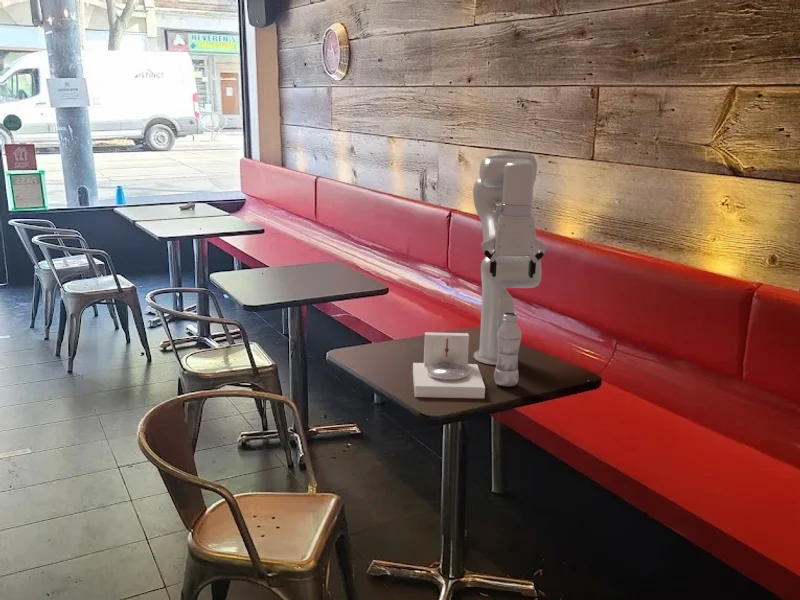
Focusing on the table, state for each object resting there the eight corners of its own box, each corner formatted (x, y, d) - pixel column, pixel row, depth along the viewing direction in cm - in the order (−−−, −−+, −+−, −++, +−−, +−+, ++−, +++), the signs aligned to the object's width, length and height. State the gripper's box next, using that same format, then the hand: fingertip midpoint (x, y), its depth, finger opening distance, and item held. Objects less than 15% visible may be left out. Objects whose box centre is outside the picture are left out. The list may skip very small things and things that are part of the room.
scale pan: (426, 365, 206) (426, 362, 206) (466, 366, 207) (466, 363, 206) (428, 379, 196) (428, 376, 195) (470, 380, 196) (470, 377, 196)
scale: (412, 372, 211) (414, 332, 208) (476, 374, 211) (478, 333, 208) (414, 396, 193) (416, 352, 190) (484, 398, 193) (487, 354, 190)
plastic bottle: (501, 379, 208) (505, 309, 203) (522, 385, 204) (527, 314, 199) (488, 385, 203) (493, 314, 198) (510, 391, 199) (515, 318, 194)
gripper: (484, 212, 188) (480, 278, 192) (553, 214, 188) (547, 280, 192) (481, 208, 195) (477, 272, 199) (547, 209, 195) (542, 274, 199)
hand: (512, 276), depth 196 cm, fingers open, 9 cm apart
